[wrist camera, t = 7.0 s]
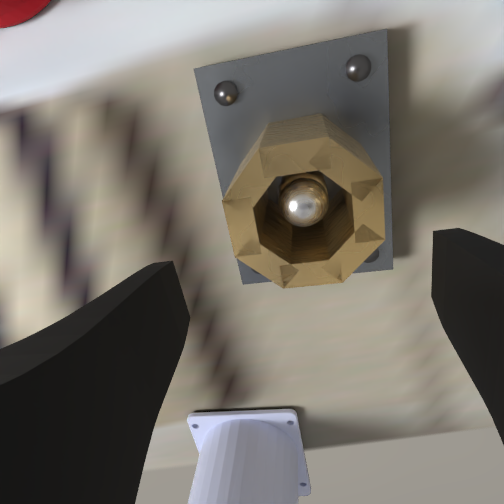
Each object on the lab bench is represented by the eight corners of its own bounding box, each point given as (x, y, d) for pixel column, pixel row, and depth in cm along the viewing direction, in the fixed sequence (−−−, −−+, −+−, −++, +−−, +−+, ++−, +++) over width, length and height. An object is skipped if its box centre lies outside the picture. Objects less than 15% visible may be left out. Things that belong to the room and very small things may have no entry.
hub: (366, 225, 19) (386, 278, 15) (255, 238, 20) (243, 292, 16) (359, 106, 17) (381, 128, 12) (233, 128, 18) (211, 156, 13)
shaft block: (388, 258, 21) (414, 318, 16) (245, 273, 23) (231, 333, 18) (381, 29, 16) (415, 22, 12) (199, 67, 18) (163, 75, 13)
